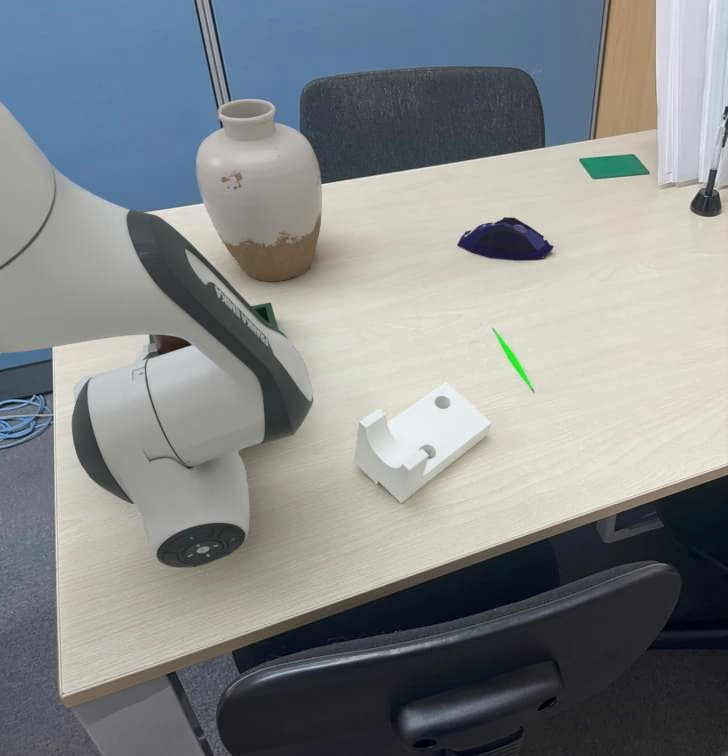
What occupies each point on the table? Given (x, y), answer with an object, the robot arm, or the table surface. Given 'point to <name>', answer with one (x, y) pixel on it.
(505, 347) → the leaf
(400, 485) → the bracket
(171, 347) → the brown lidded canister
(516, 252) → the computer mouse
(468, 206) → the table surface
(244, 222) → the vase
